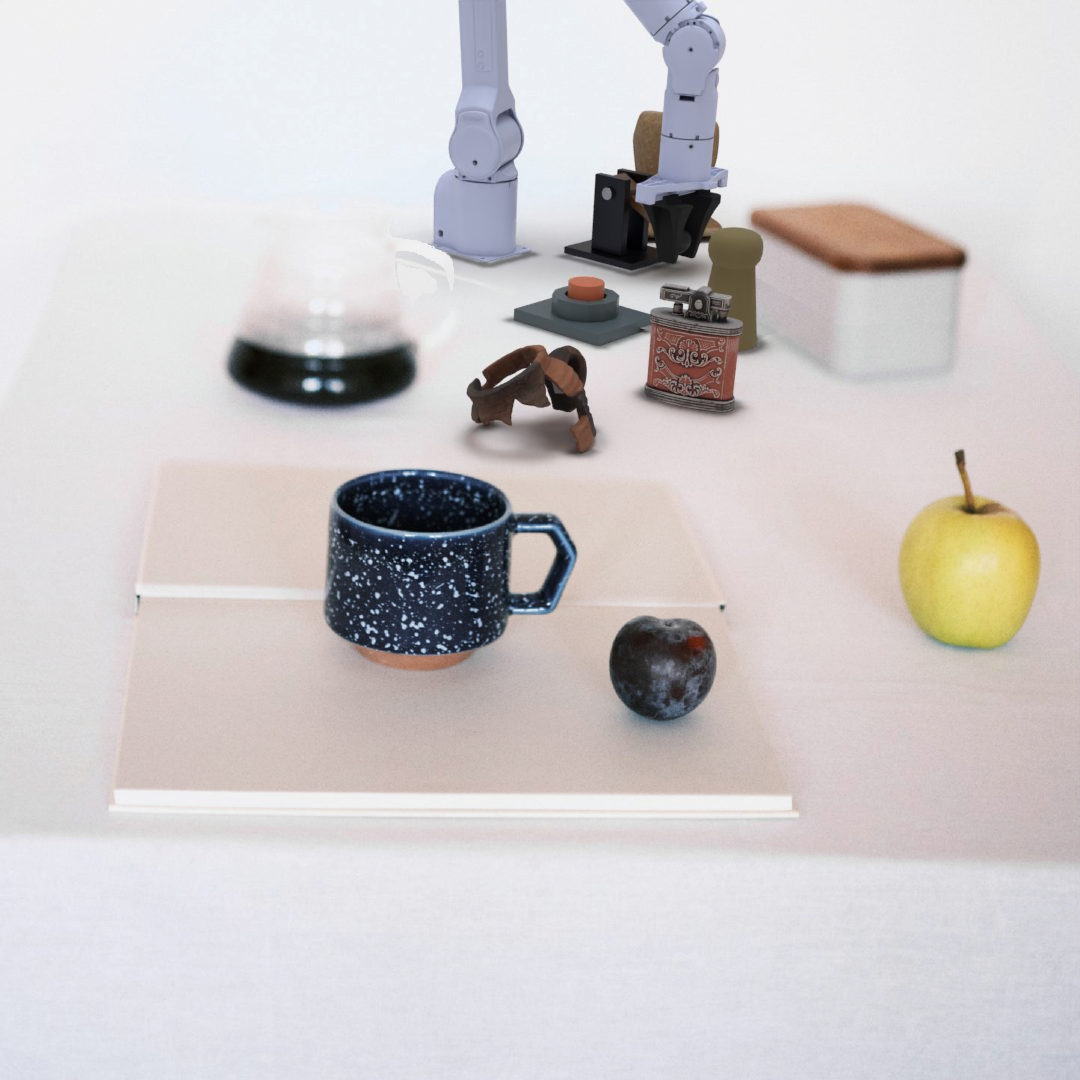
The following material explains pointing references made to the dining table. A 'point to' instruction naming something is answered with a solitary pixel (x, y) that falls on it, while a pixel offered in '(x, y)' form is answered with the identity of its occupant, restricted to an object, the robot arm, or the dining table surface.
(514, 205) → the robot arm
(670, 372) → the lighter
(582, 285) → the button
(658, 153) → the tan piece
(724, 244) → the cork
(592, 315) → the button block
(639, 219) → the bracket
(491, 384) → the brown curved pieces
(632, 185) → the lever
